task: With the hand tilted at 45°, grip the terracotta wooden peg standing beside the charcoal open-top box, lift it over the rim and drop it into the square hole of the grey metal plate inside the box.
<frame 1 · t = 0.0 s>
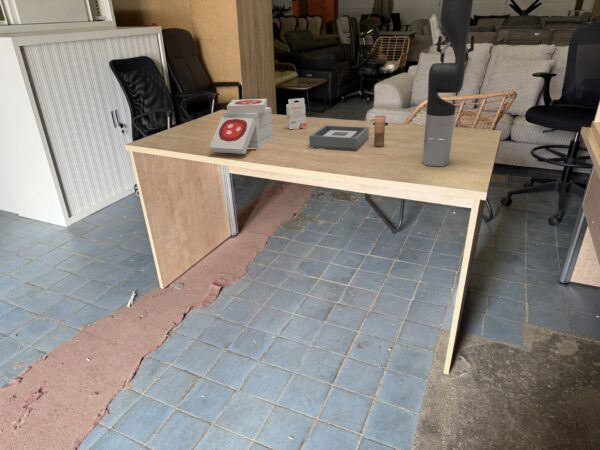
hand: (453, 62, 174), 29 cm above the table, tool pointing down, fingers open, 8 cm apart
peg: (378, 146, 172), on the table
stack of white boxes: (245, 148, 179), on the table
open box: (339, 143, 179), on the table
ink cartridge box: (296, 129, 208), on the table
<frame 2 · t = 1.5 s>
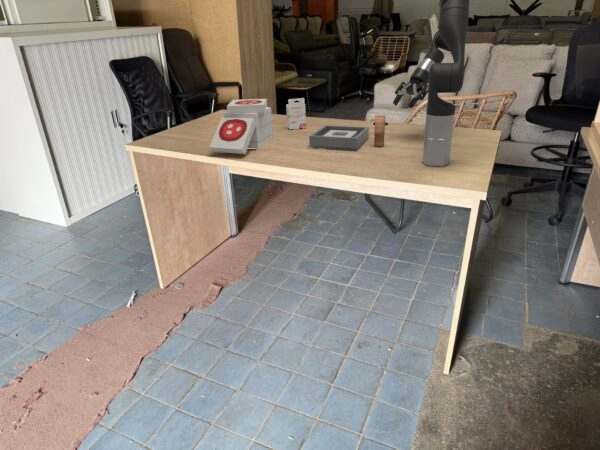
hand: (401, 105, 171), 15 cm above the table, tool tilted 45°, fingers open, 8 cm apart
nothing on the table moved.
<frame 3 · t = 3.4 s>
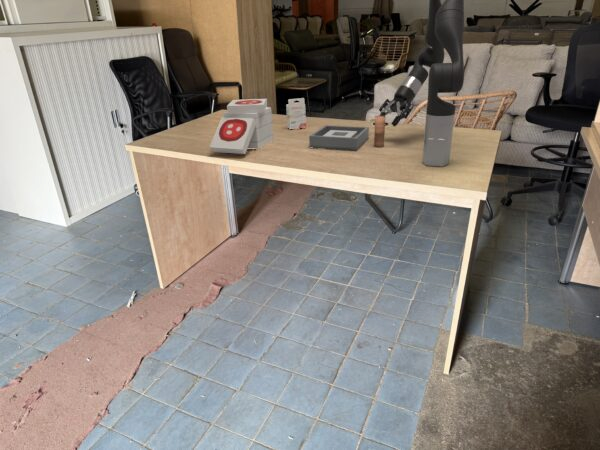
hand: (385, 123, 170), 9 cm above the table, tool tilted 45°, fingers open, 8 cm apart
nothing on the table moved.
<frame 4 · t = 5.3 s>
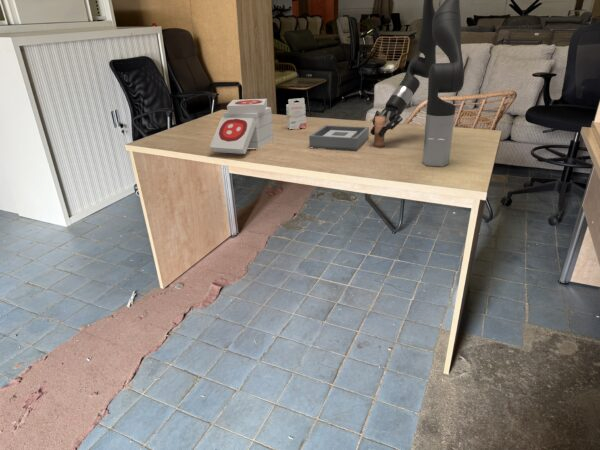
hand: (375, 134, 169), 5 cm above the table, tool tilted 45°, fingers closed on peg, 4 cm apart
peg: (379, 146, 172), on the table, touching gripper
everything else where it was.
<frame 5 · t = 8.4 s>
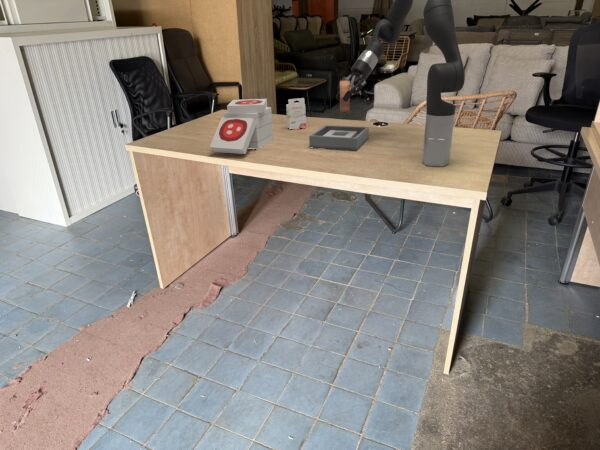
hand: (340, 99, 170), 18 cm above the table, tool tilted 45°, fingers closed on peg, 4 cm apart
peg: (344, 111, 173), point 13 cm above the table, touching gripper
everything else where it was.
when the fingers open (7 cm above the table, at t = 11.9 s): peg drops 1 cm, resting on open box.
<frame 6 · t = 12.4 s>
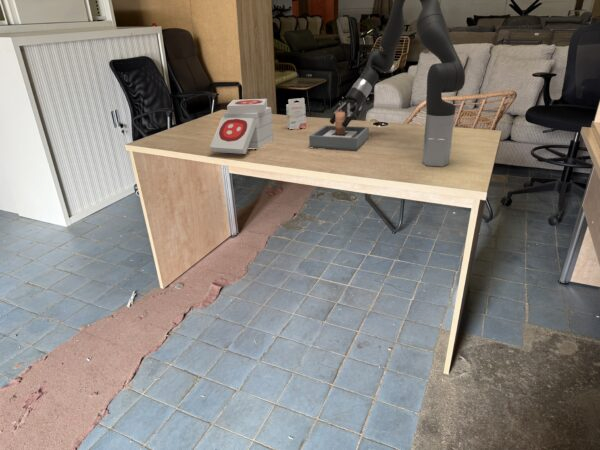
hand: (337, 124, 175), 8 cm above the table, tool tilted 45°, fingers open, 8 cm apart
peg: (340, 140, 179), point 1 cm above the table, touching open box
everything else where it was.
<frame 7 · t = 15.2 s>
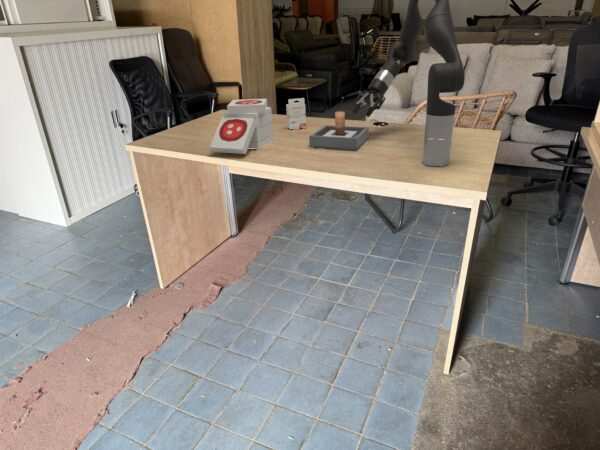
hand: (360, 114, 180), 11 cm above the table, tool tilted 45°, fingers open, 8 cm apart
nothing on the table moved.
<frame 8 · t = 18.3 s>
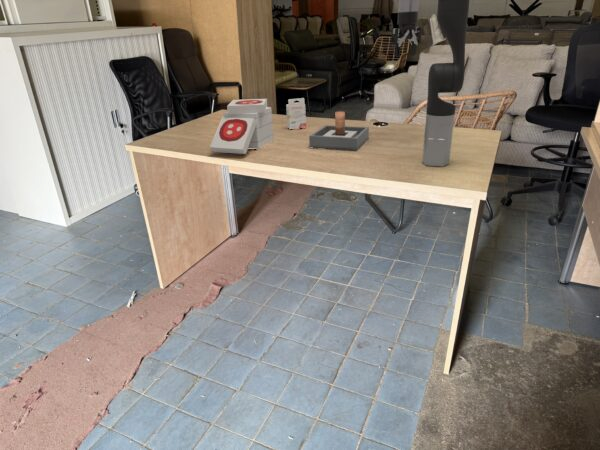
hand: (405, 56, 168), 33 cm above the table, tool pointing down, fingers open, 8 cm apart
nothing on the table moved.
at the end: peg 0.1 cm off-centre on the open box, point 1.0 cm above the open box's base; peg tilted 1°; the gripper is holding nothing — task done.
